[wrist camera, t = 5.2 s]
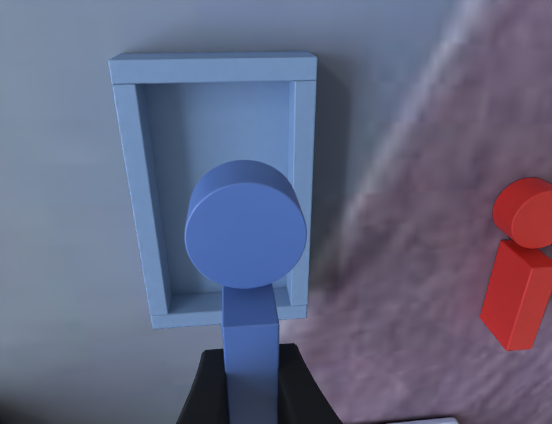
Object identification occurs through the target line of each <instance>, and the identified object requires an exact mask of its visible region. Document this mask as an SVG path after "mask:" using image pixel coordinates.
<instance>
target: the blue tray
mask: <svg viewBox="0 0 552 424" xmlns="http://www.w3.org/2000/svg"><path fill="white" fill-rule="evenodd" d="M317 62H318V58H317V57H316V56H315V55H313V54H311V53H310V52H308V51H283V52H202V53H121V54H119V55H117V56H115V57H113V58H111V59H110V60H108V63H109V69H110V75H111V81H112V84H113V85H112V87H113V93H114V99H115V105H116V111H117V117H118V123H119V130H120V136H121V142H122V148H123V154H124V160H125V166H126V172H127V178H128V184H129V190H130V196H131V202H132V208H133V214H134V220H135V226H136V232H137V238H138V244H139V250H140V256H141V262H142V268H143V274H144V280H145V286H146V292H147V298H148V304H149V310H150V315H151V321H152V327H153V329H162V328H176V327H189V326H203V325H217V324H222V285H220V284H218V283H216V282H213V281H212V280H210V279H208V278H207V277H205V276H204V275H203V274H202V273H201V272H200V271H199V270H198V269H197V268H196V267H195V266H194V264H193V263H192V261H191V260H190V258H189V256H188V253H187V250H186V246H185V238H184V234H185V226H186V220H187V214H188V208H189V203H190V198H191V195H192V192H193V190H194V188H195V186H196V185H197V183H198V182H199V181H200V179H201V178H202V177H203V176H204V175H205V174H206V173H208V172H209V171H210V170H212V169H213V168H215V167H217V166H219V165H221V164H224V163H227V162H231V161H235V160H253V161H259V162H262V163H265V164H267V165H270V166H272V167H274V168H275V169H277V170H278V171H279V172H281V173H282V174H283V175H284V176H285V177H286V178H287V179H288V181H289V182H290V183H291V185H292V187H293V189H294V191H295V194H296V196H297V199H298V202H299V204H300V207H301V210H302V213H303V215H304V218H305V221H306V226H307V241H306V245H305V249H304V251H303V254H302V256H301V258H300V259H299V261H298V262H297V264H296V265H295V266H294V268H293V269H292V270H291V271H290V272H288V273H287V274H286V275H285V276H283V277H282V278H280V279H279V280H277V281H275V282H273V283H272V284H273V290H274V296H275V302H276V308H277V314H278V320H286V319H299V318H306V317H307V307H308V305H307V304H308V286H309V261H310V237H311V212H312V187H313V162H314V137H315V112H316V88H317V81H316V79H317Z"/></svg>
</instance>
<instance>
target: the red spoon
mask: <svg viewBox="0 0 552 424" xmlns="http://www.w3.org/2000/svg"><path fill="white" fill-rule="evenodd" d="M493 220H494V223H495V225H496V226H497V227H498V228H499V229H500V230H501V231H502V232H504V233H505V234H506V235H507V236H508V237H510V238H511V239H512V240H501V241H500V243H499V247H498V251H497V255H496V258H495V262H494V266H493V270H492V273H491V277H490V281H489V285H488V288H487V292H486V296H485V299H484V303H483V307H482V311H481V314H480V319H481V320H482V321H483V322H484V324H485V325H486V326H487V327H488V329H489V330H490V331H491V332H492V334H493V335H494V336H495V337H496V339H497V340H498V341H499V342H500V344H501V345H502V346H503V347H504V349H505V350H506V351H514V350H526V349H531V348H532V346H533V344H534V341H535V338H536V335H537V332H538V329H539V326H540V324H541V321H542V318H543V315H544V312H545V309H546V306H547V304H548V301H549V298H550V295H551V292H552V260H551V259H550V258H549V257H547V256H546V255H545V254H544V253H542V252H541V251H540V250H539V249H537V248H542V247H545V246H548V245H550V244H552V185H551V184H549V183H548V182H546V181H544V180H542V179H539V178H524V179H521V180H518V181H516V182H514V183H512V184H510V185H509V186H508V187H507V188H505V189H504V190H503V191H502V192H501V194H500V195H499V196H498V198H497V200H496V202H495V204H494V207H493Z"/></svg>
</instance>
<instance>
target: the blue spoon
mask: <svg viewBox="0 0 552 424" xmlns="http://www.w3.org/2000/svg"><path fill="white" fill-rule="evenodd" d="M184 238H185V246H186V250H187V253H188V256H189V258H190V260H191V261H192V263H193V264H194V266H195V267H196V268H197V269H198V270H199V271H200V272H201V273H202V274H203V275H204V276H205V277H207V278H208V279H210V280H212V281H213V282H216V283H218V284H220V285H222V335H223V350H224V364H225V372H226V386H227V400H228V414H229V424H278V368H279V320H278V314H277V308H276V302H275V296H274V290H273V284H272V283H273V282H275V281H277V280H279V279H280V278H282V277H283V276H285V275H286V274H287V273H288V272H290V271H291V270H292V269H293V268H294V266H295V265H296V264H297V262H298V261H299V259H300V258H301V256H302V254H303V251H304V249H305V245H306V241H307V226H306V221H305V218H304V215H303V213H302V210H301V207H300V204H299V202H298V199H297V196H296V194H295V191H294V189H293V187H292V185H291V183H290V182H289V181H288V179H287V178H286V177H285V176H284V175H283V174H282V173H281V172H279V171H278V170H277V169H275V168H274V167H272V166H270V165H267V164H265V163H262V162H259V161H253V160H235V161H231V162H227V163H224V164H221V165H219V166H217V167H215V168H213V169H212V170H210V171H209V172H208V173H206V174H205V175H204V176H203V177H202V178H201V179H200V181H199V182H198V183H197V185H196V186H195V188H194V190H193V192H192V195H191V198H190V203H189V208H188V214H187V220H186V226H185V234H184Z"/></svg>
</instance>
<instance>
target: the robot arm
mask: <svg viewBox="0 0 552 424" xmlns="http://www.w3.org/2000/svg"><path fill="white" fill-rule="evenodd" d="M176 424H229V414H228V400H227V386H226V372H225V364H224V350H223V349H213V350H205V351H204V352H203V353H202V355H201V360H200V363H199V367H198V370H197V373H196V376H195V379H194V382H193V385H192V387H191V390H190V393H189V395H188V397H187V400H186V402H185V404H184V407H183V409H182V412H181V414H180V416H179V418H178V420H177V422H176ZM278 424H343V423H342V422H341V420H340V419H339V418H338V416H337V415H336V413H335V412H334V410H333V409H332V407H331V406H330V405H329V403H328V401H327V400H326V398H325V397H324V395H323V394H322V392H321V390H320V389H319V387H318V386H317V384H316V382H315V381H314V379H313V377H312V375H311V373H310V372H309V370H308V368H307V366H306V364H305V362H304V360H303V358H302V356H301V354H300V352H299V349H298V347H297V345H295V344H294V343H290V344H279V368H278ZM388 424H459V423H458V422H457V420H456V419H455V418H453V417H449V418H439V419H428V420H418V421H408V422H398V423H388Z"/></svg>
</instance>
